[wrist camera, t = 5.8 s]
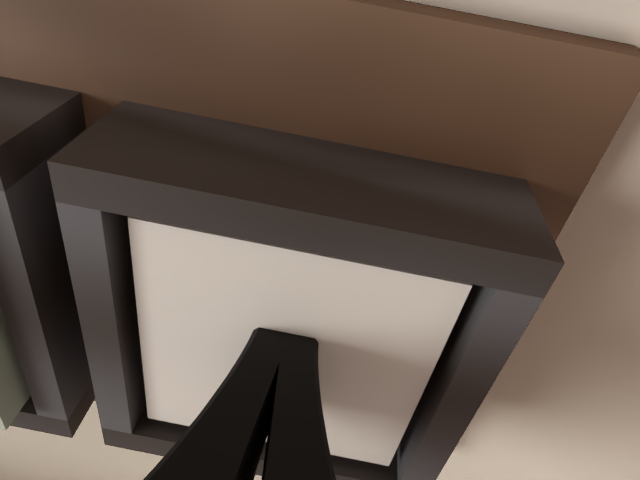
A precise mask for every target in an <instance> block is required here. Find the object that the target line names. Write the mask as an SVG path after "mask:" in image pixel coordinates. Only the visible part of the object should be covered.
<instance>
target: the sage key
mask: <svg viewBox="0 0 640 480" xmlns="http://www.w3.org/2000/svg"><path fill="white" fill-rule="evenodd" d="M30 396H31V395H30V392H29V389H28V386H27V383H26V380H25V377H24V374H23V371H22V368H21V365H20V362H19V359H18V356H17V353H16V350H15V347H14V344H13V341H12V338H11V335H10V332H9V329H8V326H7V323H6V320H5V317H4V314H3V311H2V308H1V305H0V429H1V430H7V428H8V427H9V426H10V424H11V423H12V421H13V420H14V419H15V417H16V416H17V414H18V413H19V411H20V410H21V409H22V407H23V406H24V404H25V403H26V402H27V400H28V399H29V397H30Z"/></svg>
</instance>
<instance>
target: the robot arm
mask: <svg viewBox="0 0 640 480" xmlns="http://www.w3.org/2000/svg"><path fill="white" fill-rule="evenodd" d="M318 347H319V343H318V341H317V340H316V339H315V338H311V337H306V336H301V335H296V334H291V333H286V332H281V331H276V330H271V329H266V328H260V327H259V328H256V329H254V330H253V332H252V334H251V336H250V338H249V340H248V342H247V344H246V346H245V348H244V349H243V351H242V353H241V354H240V356H239V358H238V359H237V361H236V363H235V364H234V366H233V367H232V369H231V370H230V372H229V373H228V375H227V376H226V378H225V379H224V381H223V382H222V384H221V385H220V386H219V388H218V389H217V390H216V392H215V393H214V395H213V396H212V397H211V399H210V400H209V402H208V403H207V404H206V406H205V407H204V408H203V410H202V411H201V412H200V414H199V415H198V416H197V417H196V419H195V420H194V421H193V422H192V424H191V425H190V426H189V427H188V429H187V430H186V431H185V432H184V433H183V435H182V436H181V437H180V438H179V440H178V441H177V442H176V443H175V445H174V446H173V447H172V448H171V449H170V450H169V452H168V453H167V454H166V455H165V456H164V457H163V458H162V460H161V461H160V462H159V463H158V464H157V465H156V466H155V468H154V469H153V470H152V471H151V472H150V473H149V474H148V475H147V476H146V477H145V478H144V480H254V476H255V473H256V470H257V467H258V464H259V461H260V457H261V454H262V451H263V448H264V445H265V442H266V438H267V442H266V450H265V458H264V465H263V473H262V480H336V477H335V473H334V468H333V464H332V459H331V455H330V450H329V445H328V440H327V434H326V428H325V422H324V416H323V410H322V403H321V394H320V384H319V371H318Z"/></svg>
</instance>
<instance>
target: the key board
mask: <svg viewBox="0 0 640 480" xmlns="http://www.w3.org/2000/svg"><path fill="white" fill-rule="evenodd" d="M639 90H640V49H638V48H637V47H635V46H634V45H629V44H624V43H619V42H614V41H609V40H604V39H598V38H593V37H588V36H583V35H578V34H573V33H568V32H563V31H557V30H552V29H547V28H542V27H537V26H532V25H527V24H521V23H516V22H511V21H506V20H501V19H496V18H491V17H486V16H480V15H475V14H470V13H465V12H460V11H455V10H450V9H445V8H439V7H434V6H429V5H424V4H419V3H414V2H409V1H404V0H0V305H1V308H2V311H3V314H4V317H5V320H6V323H7V326H8V329H9V332H10V335H11V338H12V341H13V344H14V347H15V350H16V353H17V356H18V359H19V362H20V365H21V368H22V371H23V374H24V377H25V380H26V383H27V386H28V389H29V392H30V395H31V396H30V397H29V399H28V400H27V402H26V403H25V404H24V406H23V407H22V409H21V410H20V411H19V413H18V414H17V416H16V417H15V419H14V420H13V421H12V423H11V424H10V426H15V427H20V428H25V429H30V430H35V431H40V432H45V433H50V434H55V435H60V436H65V437H70V438H72V437H73V435H74V434H75V432H76V430H77V429H78V427H79V425H80V423H81V422H82V420H83V418H84V417H85V415H86V413H87V411H88V410H89V408H90V406H91V404H92V403H93V401H96V403H97V408H98V413H99V418H100V423H101V428H102V433H103V438H104V442H105V445H110V446H115V447H120V448H125V449H130V450H135V451H140V452H145V453H150V454H155V455H160V456H165V455H166V454H167V453H168V452H169V450H170V449H171V448H172V447H173V446H174V445H175V443H176V442H177V441H178V440H179V438H180V437H181V436H182V435H183V433H184V432H185V431H186V430H187V429H188V427H189V426H185V425H180V424H175V423H170V422H165V421H160V420H155V419H150V418H148V416H147V406H146V396H145V386H144V376H143V366H142V356H141V346H140V336H139V327H138V317H137V307H136V297H135V287H134V277H133V267H132V257H131V247H130V238H129V228H128V216H129V217H134V218H139V219H145V220H150V221H155V222H160V223H165V224H170V225H175V226H180V227H185V228H190V229H195V230H200V231H205V232H210V233H215V234H220V235H225V236H230V237H235V238H241V239H246V240H251V241H256V242H261V243H266V244H271V245H276V246H281V247H286V248H291V249H296V250H301V251H306V252H311V253H316V254H321V255H326V256H331V257H336V258H342V259H347V260H352V261H357V262H362V263H367V264H372V265H377V266H382V267H387V268H392V269H397V270H402V271H407V272H412V273H417V274H422V275H427V276H432V277H438V278H443V279H448V280H453V281H458V282H463V283H468V284H472V288H471V290H470V292H469V294H468V297H467V299H466V301H465V303H464V305H463V307H462V309H461V312H460V314H459V316H458V318H457V320H456V322H455V325H454V327H453V329H452V331H451V333H450V335H449V338H448V340H447V342H446V344H445V346H444V348H443V350H442V353H441V355H440V357H439V359H438V361H437V363H436V366H435V368H434V370H433V372H432V374H431V376H430V379H429V381H428V383H427V385H426V387H425V389H424V392H423V394H422V396H421V398H420V400H419V402H418V404H417V407H416V409H415V411H414V413H413V415H412V417H411V420H410V422H409V424H408V426H407V428H406V430H405V433H404V435H403V437H402V439H401V441H400V443H399V446H398V448H397V450H396V452H395V454H394V456H393V458H392V461H391V463H390V465H389V466H385V465H380V464H375V463H370V462H365V461H360V460H355V459H350V458H345V457H340V456H335V455H331V459H332V464H333V468H334V473H335V477H336V480H436V479H437V477H438V475H439V474H440V472H441V470H442V469H443V467H444V465H445V464H446V462H447V460H448V459H449V457H450V455H451V454H452V452H453V450H454V448H455V447H456V445H457V443H458V442H459V440H460V438H461V437H462V435H463V433H464V432H465V430H466V428H467V427H468V425H469V423H470V422H471V420H472V418H473V417H474V415H475V413H476V411H477V410H478V408H479V406H480V405H481V403H482V401H483V400H484V398H485V396H486V395H487V393H488V391H489V390H490V388H491V386H492V385H493V383H494V381H495V380H496V378H497V376H498V374H499V373H500V371H501V369H502V368H503V366H504V364H505V363H506V361H507V359H508V358H509V356H510V354H511V353H512V351H513V349H514V348H515V346H516V344H517V343H518V341H519V339H520V337H521V336H522V334H523V332H524V331H525V329H526V327H527V326H528V324H529V322H530V321H531V319H532V317H533V316H534V314H535V312H536V311H537V309H538V307H539V306H540V304H541V302H542V300H543V299H544V297H545V295H546V294H547V292H548V290H549V289H550V287H551V285H552V284H553V282H554V280H555V279H556V277H557V275H558V274H559V272H560V270H561V269H562V267H563V265H564V261H563V259H562V256H561V254H560V252H559V250H558V248H557V245H556V243H555V240H556V239H557V237H558V235H559V233H560V231H561V230H562V228H563V226H564V224H565V222H566V221H567V219H568V217H569V215H570V214H571V212H572V210H573V208H574V206H575V205H576V203H577V201H578V199H579V197H580V196H581V194H582V192H583V190H584V189H585V187H586V185H587V183H588V181H589V180H590V178H591V176H592V174H593V172H594V171H595V169H596V167H597V165H598V163H599V162H600V160H601V158H602V156H603V155H604V153H605V151H606V149H607V147H608V146H609V144H610V142H611V140H612V138H613V137H614V135H615V133H616V131H617V130H618V128H619V126H620V124H621V122H622V121H623V119H624V117H625V115H626V113H627V112H628V110H629V108H630V106H631V104H632V103H633V101H634V99H635V97H636V96H637V94H638V92H639ZM265 450H266V442H265V445H264V448H263V451H262V454H261V457H260V461H259V464H258V467H257V470H256V473H255V475H260V476H262V473H263V465H264V458H265Z"/></svg>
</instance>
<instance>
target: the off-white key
mask: <svg viewBox="0 0 640 480" xmlns="http://www.w3.org/2000/svg"><path fill="white" fill-rule="evenodd" d="M128 228H129V238H130V247H131V257H132V267H133V277H134V287H135V297H136V307H137V317H138V327H139V336H140V346H141V356H142V366H143V376H144V386H145V396H146V406H147V416H148V418H150V419H155V420H160V421H165V422H170V423H175V424H180V425H185V426H190V425H191V424H192V422H193V421H194V420H195V419H196V417H197V416H198V415H199V414H200V412H201V411H202V410H203V408H204V407H205V406H206V404H207V403H208V402H209V400H210V399H211V397H212V396H213V395H214V393H215V392H216V390H217V389H218V388H219V386H220V385H221V384H222V382H223V381H224V379H225V378H226V376H227V375H228V373H229V372H230V370H231V369H232V367H233V366H234V364H235V363H236V361H237V359H238V358H239V356H240V354H241V353H242V351H243V349H244V348H245V346H246V344H247V342H248V340H249V338H250V336H251V334H252V332H253V330H254V329H256V328H259V327H260V328H266V329H271V330H276V331H281V332H286V333H291V334H296V335H301V336H306V337H311V338H315V339H316V340H317V341H318V343H319V347H318V371H319V384H320V394H321V403H322V410H323V416H324V422H325V428H326V434H327V440H328V445H329V450H330V455H335V456H340V457H345V458H350V459H355V460H360V461H365V462H370V463H375V464H380V465H385V466H389V465H390V463H391V461H392V458H393V456H394V454H395V452H396V450H397V448H398V446H399V443H400V441H401V439H402V437H403V435H404V433H405V430H406V428H407V426H408V424H409V422H410V420H411V417H412V415H413V413H414V411H415V409H416V407H417V404H418V402H419V400H420V398H421V396H422V394H423V392H424V389H425V387H426V385H427V383H428V381H429V379H430V376H431V374H432V372H433V370H434V368H435V366H436V363H437V361H438V359H439V357H440V355H441V353H442V350H443V348H444V346H445V344H446V342H447V340H448V338H449V335H450V333H451V331H452V329H453V327H454V325H455V322H456V320H457V318H458V316H459V314H460V312H461V309H462V307H463V305H464V303H465V301H466V299H467V297H468V294H469V292H470V290H471V288H472V284H468V283H463V282H458V281H453V280H448V279H443V278H438V277H432V276H427V275H422V274H417V273H412V272H407V271H402V270H397V269H392V268H387V267H382V266H377V265H372V264H367V263H362V262H357V261H352V260H347V259H342V258H336V257H331V256H326V255H321V254H316V253H311V252H306V251H301V250H296V249H291V248H286V247H281V246H276V245H271V244H266V243H261V242H256V241H251V240H246V239H241V238H235V237H230V236H225V235H220V234H215V233H210V232H205V231H200V230H195V229H190V228H185V227H180V226H175V225H170V224H165V223H160V222H155V221H150V220H145V219H139V218H134V217H129V216H128ZM266 442H267V438H266Z"/></svg>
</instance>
